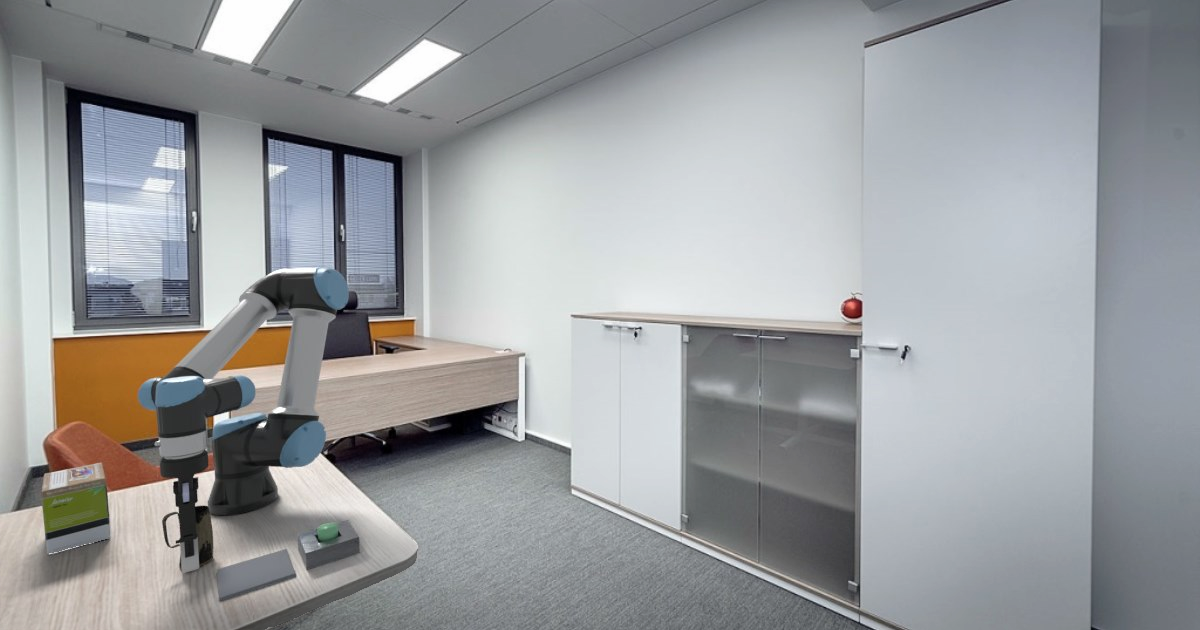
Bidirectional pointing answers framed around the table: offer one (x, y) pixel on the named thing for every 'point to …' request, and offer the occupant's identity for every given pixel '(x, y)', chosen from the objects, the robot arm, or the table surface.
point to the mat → (254, 574)
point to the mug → (198, 534)
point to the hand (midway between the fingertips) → (190, 562)
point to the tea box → (75, 507)
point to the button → (327, 532)
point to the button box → (328, 546)
